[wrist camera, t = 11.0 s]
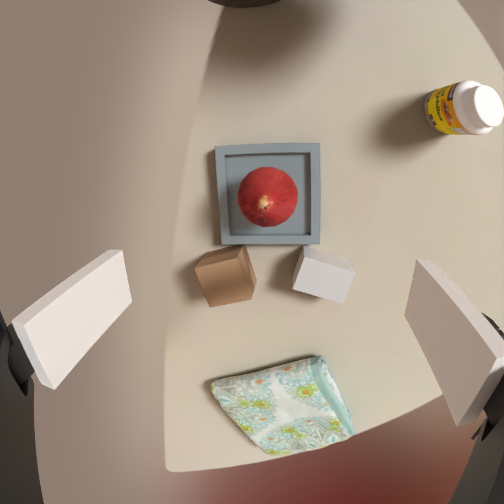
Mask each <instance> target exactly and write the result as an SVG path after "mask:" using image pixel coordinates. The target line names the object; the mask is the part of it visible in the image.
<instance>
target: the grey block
mask: <svg viewBox="0 0 504 504" xmlns="http://www.w3.org/2000/svg"><path fill="white" fill-rule="evenodd" d="M355 274H356V271H355V269H354V267H353V264H352V262H351V260H350V259H348V258H344V257H341V256H338V255H335V254H332V253H328V252H325V251H322V250H319V249H316V248H312V247H309V246H306V245H303V248H302V250H301V253H300V256H299V259H298V262H297V265H296V267H295V270H294V273H293V289H294V290H297V291H301V292H304V293H308V294H311V295H315V296H318V297H322V298H325V299H329V300H332V301H336V302H339V303H343V301H344V299H345V297H346V295H347V292H348V290H349V288H350V286H351V283H352V281H353V279H354V277H355Z"/></svg>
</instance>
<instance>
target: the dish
mask: <svg viewBox="0 0 504 504" xmlns="http://www.w3.org/2000/svg"><path fill="white" fill-rule="evenodd" d="M215 159H216V174H217V189H218V203H219V216H220V229H221V241H222V244H320V204H321V181H320V143H269V144H245V145H229V146H215ZM260 167H274V168H277V169H279V170H282V171H284V172H285V173H286V174H288V175H289V176H290V177H291V178H292V179H293V181H294V183H295V185H296V187H297V189H298V202H297V205H296V208H295V211H294V213H293V214H292V215H291V216H290V217H289V219H288V220H287V221H285V222H283V223H281V224H280V225H278V226H274V227H261V226H259V225H256V224H253V223H251V222H250V221H249V220H248V219H247V218H246V217H245V216H244V215H243V214H242V212H241V210H240V208H239V205H238V190H239V187H240V184H241V182H242V180H243V179H244V178H245V177H246V176H247V174H248V173H249V172H251V171H253V170H255V169H257V168H260Z"/></svg>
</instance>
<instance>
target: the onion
mask: <svg viewBox="0 0 504 504" xmlns="http://www.w3.org/2000/svg"><path fill="white" fill-rule="evenodd" d="M297 202H298V189H297V187H296V185H295V183H294V181H293V179H292V178H291V177H290V176H289V175H288V174H286V173H285V172H284V171H282V170H279V169H277V168H274V167H260V168H257V169H255V170H253V171H251V172H249V173H248V174H247V176H246V177H245V178H244V179H243V180H242V182H241V184H240V187H239V190H238V205H239V208H240V210H241V212H242V214H243V215H244V216H245V217H246V218H247V219H248V220H249V221H250V222H251V223H253V224H256V225H259V226H261V227H274V226H278V225H280V224H281V223H283V222H285V221H287V220H288V219H289V217H290V216H291V215H292V214H293V213H294V211H295V208H296V205H297Z"/></svg>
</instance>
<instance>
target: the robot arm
mask: <svg viewBox="0 0 504 504" xmlns="http://www.w3.org/2000/svg"><path fill="white" fill-rule="evenodd" d="M209 1H211V2H213V3H216V4H219V5H224V6H230V7H254V6H261V5H266V4H270V3H273V2H276V1H279V0H209ZM130 303H132V299H131V294H130V289H129V284H128V279H127V274H126V270H125V264H124V258H123V252H122V250H108V251H107V252H105V253H104V254H102V255H101V256H99V257H98V258H96V259H95V260H93V261H92V262H90V263H89V264H87V265H86V266H84V267H83V268H81V269H80V270H79V271H77V272H76V273H74V274H73V275H71V276H70V277H69V278H67V279H66V280H64V281H63V282H62V283H60V284H59V285H58V286H56V287H55V288H53V289H52V290H51V291H50V292H48V293H47V294H45V295H44V296H43V297H41V298H40V299H39V300H37V301H36V302H35V303H33V304H32V305H31V306H30V307H28V308H27V309H26V310H24V311H23V312H22V313H21V314H19V315H18V316H17V317H16V318H14V319H13V320H12V323H11V324H10V325H9V326H8V327H7V326H6V324H5V322H4V319H3V317H2V314H1V311H0V504H44V502H43V498H42V492H41V487H40V481H39V474H38V466H37V457H36V447H35V432H34V383H33V380H32V378H31V375H32V374H33V373H34V372H35V373H36V375H37V377H38V378H39V380H40V382H41V384H43V385H45V386H47V387H50V388H52V389H54V390H55V389H56V388H57V386H58V385H59V384H60V383H61V381H62V380H63V379H64V378H65V377H66V376H67V374H68V373H69V372H70V371H71V370H72V368H73V367H74V366H75V365H76V364H77V363H78V361H79V360H80V359H81V358H82V357H83V356H84V355H85V353H86V352H87V351H88V350H89V349H90V348H91V347H92V345H93V344H94V343H95V342H96V341H97V340H98V339H99V338H100V336H101V335H102V334H103V333H104V332H105V331H106V330H107V328H109V326H110V325H111V324H112V323H113V322H114V321H115V320H116V319H117V318H118V317H119V315H120V314H121V313H122V312H123V311H124V310H125V309H126V308H127V307H128V306H129V305H130ZM404 315H405V317H406V319H407V321H408V323H409V325H410V327H411V328H412V330H413V332H414V334H415V336H416V338H417V340H418V342H419V344H420V346H421V348H422V350H423V352H424V354H425V356H426V358H427V360H428V362H429V364H430V366H431V368H432V371H433V373H434V375H435V377H436V379H437V381H438V384H439V386H440V388H441V390H442V393H443V395H444V397H445V400H446V402H447V404H448V407H449V409H450V411H451V414H452V416H453V419H454V422H455V424H456V426H461V425H464V424H468V423H472V422H474V421H475V420H476V419H477V418H478V416H479V415H480V413H481V412H482V410H483V409H484V411H485V413H486V415H487V417H486V419H485V420H484V421H483V423H482V424H481V425H480V427H479V428H478V430H477V431H476V432H475V433H474V435H473V437H472V438H471V439H473V440H474V438H475V437H476V436H477V435H478V434H479V435H478V437H477V441H476V443H475V446H474V448H473V451H472V453H471V456H470V458H469V461H468V464H467V466H466V468H465V470H464V472H463V475H462V477H461V479H460V481H459V483H458V485H457V488H456V489H455V491H454V493H453V496H452V497H451V499H450V501H449V503H448V504H504V333H503V332H502V331H501V330H499V327H498V326H497V325H496V323H495V322H494V321H493V320H492V319H491V318H489V317H488V316H486V315H485V314H483V313H481V312H480V311H479V310H478V309H477V307H476V306H475V305H474V304H473V303H472V302H471V301H470V300H469V298H468V297H467V296H466V295H465V294H464V293H463V292H462V291H461V290H460V289H459V288H458V287H457V285H456V284H455V283H454V282H453V281H452V280H451V279H450V278H449V277H448V276H447V275H446V274H445V273H444V272H443V271H442V270H441V269H440V268H439V267H438V266H437V265H436V264H435V263H434V262H433V261H432V260H420V259H416V265H415V270H414V275H413V280H412V284H411V289H410V293H409V298H408V302H407V306H406V310H405V314H404Z"/></svg>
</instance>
